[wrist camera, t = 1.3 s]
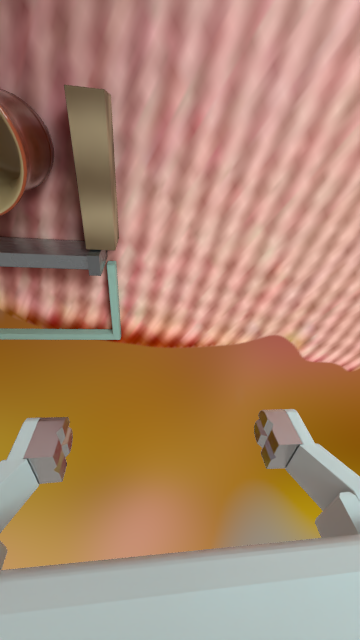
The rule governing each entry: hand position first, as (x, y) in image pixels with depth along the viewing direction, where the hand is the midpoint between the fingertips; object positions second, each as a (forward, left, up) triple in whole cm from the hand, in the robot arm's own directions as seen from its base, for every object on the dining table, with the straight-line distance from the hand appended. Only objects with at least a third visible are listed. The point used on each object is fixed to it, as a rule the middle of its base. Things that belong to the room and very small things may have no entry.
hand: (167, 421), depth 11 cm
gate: (+2, -15, -25) cm, 29 cm away
